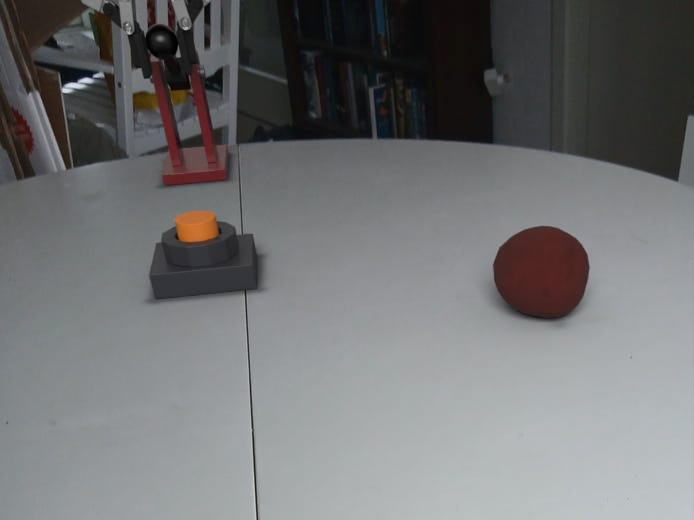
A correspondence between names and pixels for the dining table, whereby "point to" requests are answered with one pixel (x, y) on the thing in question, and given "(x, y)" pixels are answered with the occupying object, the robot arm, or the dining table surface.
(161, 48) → the black ball lever
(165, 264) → the control block
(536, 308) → the potato
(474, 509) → the dining table surface
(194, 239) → the button
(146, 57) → the robot arm
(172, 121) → the red lever stand
